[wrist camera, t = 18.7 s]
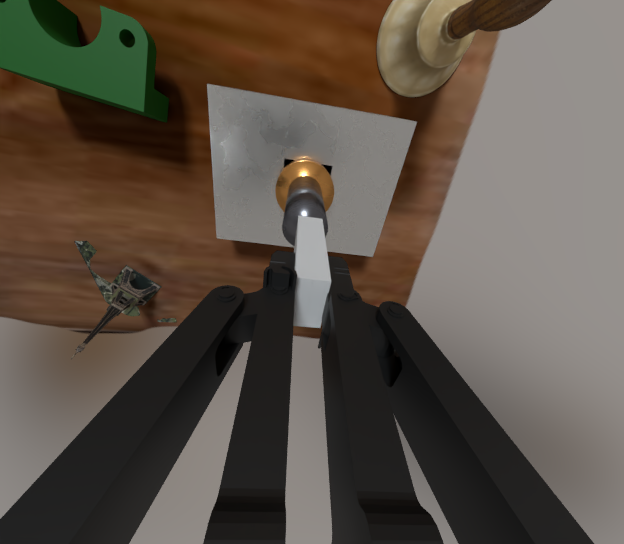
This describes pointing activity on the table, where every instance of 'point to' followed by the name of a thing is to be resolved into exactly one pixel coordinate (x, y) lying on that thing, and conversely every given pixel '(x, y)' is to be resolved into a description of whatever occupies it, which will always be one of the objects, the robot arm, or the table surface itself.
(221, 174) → the hole block
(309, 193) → the pin
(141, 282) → the eiffel tower figurine
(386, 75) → the hand bell
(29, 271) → the table surface
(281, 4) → the table surface
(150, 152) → the table surface
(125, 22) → the clamp
